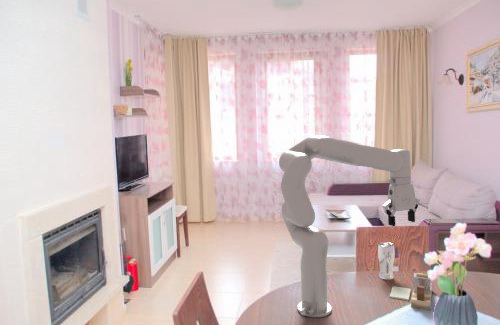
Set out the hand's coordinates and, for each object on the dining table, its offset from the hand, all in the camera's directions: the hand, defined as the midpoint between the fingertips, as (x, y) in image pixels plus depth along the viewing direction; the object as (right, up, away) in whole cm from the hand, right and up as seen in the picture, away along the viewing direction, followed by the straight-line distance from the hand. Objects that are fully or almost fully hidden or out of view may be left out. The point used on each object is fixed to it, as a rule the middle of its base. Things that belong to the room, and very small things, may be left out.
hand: (401, 223), depth 153 cm
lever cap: (+7, -26, -2) cm, 27 cm away
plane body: (+7, -29, -2) cm, 30 cm away
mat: (0, -29, +3) cm, 29 cm away
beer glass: (+1, -27, +19) cm, 33 cm away
